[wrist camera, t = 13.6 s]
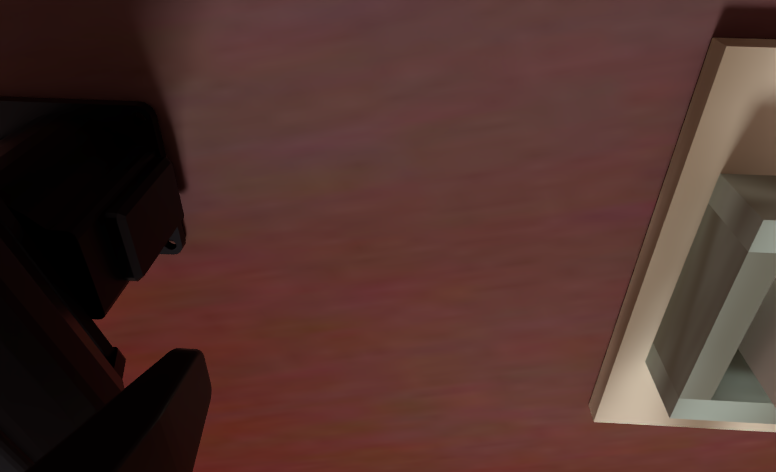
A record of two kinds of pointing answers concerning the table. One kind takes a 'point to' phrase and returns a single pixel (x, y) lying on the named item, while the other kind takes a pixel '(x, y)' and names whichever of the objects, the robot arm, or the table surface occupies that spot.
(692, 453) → the table surface
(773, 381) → the connector plug
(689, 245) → the end holder
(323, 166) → the table surface
